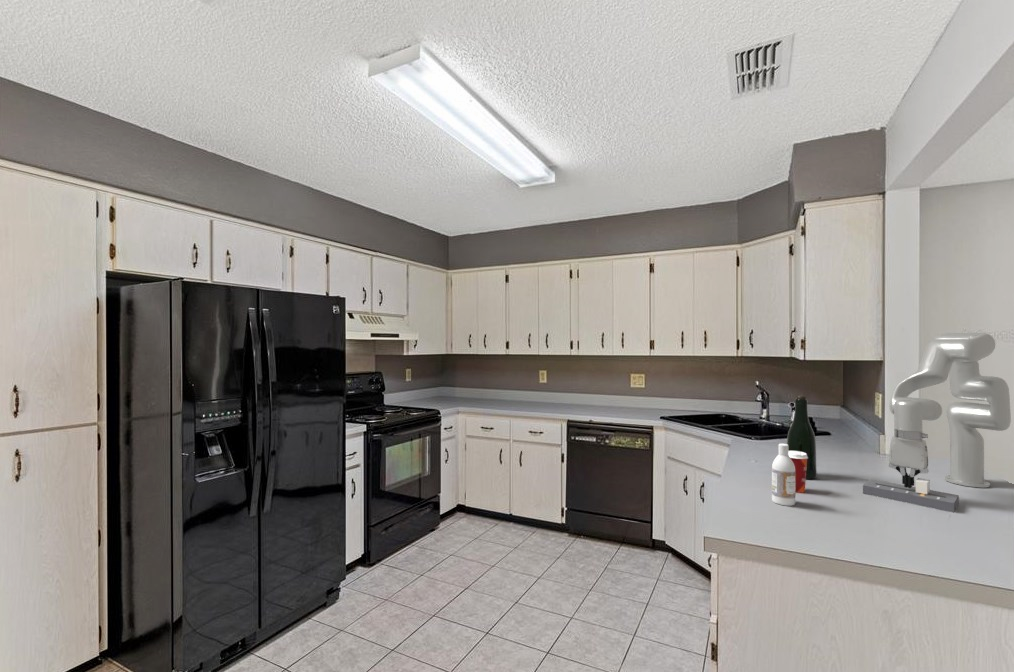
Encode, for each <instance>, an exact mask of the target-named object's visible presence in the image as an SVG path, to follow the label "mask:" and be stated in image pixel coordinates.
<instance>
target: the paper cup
mask: <svg viewBox="0 0 1014 672" xmlns="http://www.w3.org/2000/svg"><path fill="white" fill-rule="evenodd" d="M788 455H789V457H790V458H791V460H792V461H793V463H794V466H795V494H796V493H798V494H801V493H802V494H803V493H805V490H806V480H807V479H806V468H807V458H808V457H807V454H806V453H804V452H799V451H788Z"/></svg>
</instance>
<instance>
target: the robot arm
mask: <svg viewBox="0 0 1014 672" xmlns="http://www.w3.org/2000/svg"><path fill="white" fill-rule="evenodd" d="M995 349H996V339H994V337H993V336H992V335H991V334H989V333H985V332H973V333H972V332H971V333H970V332H969V333H968V332H967V333H965V332H950V333H949V332H948V333H947V332H946V333H939V334H936V335H934V336H933V337H932V340H931V341H929V342H928V343H927V344H926V346H925V349H924V352H923V354H922V358H921V360H920V362H919V365H918V368H917V370H916V371H915V373H913V374H910V375H909V376H907V377H906V378H904V379H903V380H902V381H901V382H899V383H898V384H897V385H896V387H894V390H893V392H892V395H891V398H890V400H889V410H890V412H891V414H893V416H894V418H893V420H894V422H893V423H894V428H893V429H894V430H893V431H894V436H892V437H891V440H890V445H889V453H888V454H889V456H888V457H889V459H888V461H889V463H888V467H889V468H891V469H894V470H896V471H897V472H898V473H900V475H901V478H902V479H901V481H902V482H901V483H902V484H901V485H904V487H906V488H907V487H908V488H911V487H915V477H916V476H917V475H919V474H928V473H930V471H929V468H928V467H929V452H928V447H927V441H926V440H924V439H925V438H926V439H928V438H929V435H928V433H924V431H923V421H930V422H931V421H935V420H938V419H940V418H941V416H942V414H943V408H942V405H941V404H940V403H939V402H938V401H935V400H932V399H927V398H926V399H925V398H918V397H910V395H911V394H913V392H916V391H918V390H921V389H924V388H928V387H932V386H936V385H941V384H942V383H943V384H944V383H945V382H946V381H948V380H947V379H948V377H949V390H950V393H951V395H952V396H953V397H954V398H957V399H961V400H971V401H980V402H987V403H985V404H984V403H978V402H977V403H976V402H967V401H955V402H952V403H950V404H948V406H947V407H946V412H945V413H946V417H947V422H948V428H949V475H945V476H944V480H945V481H946V482H949V483H952V484H955V485H960V486H963V487H964V486H965V487H969V488H970V487H972V488H985V489H986V488H989V487H991V484H990V482H989V481H987V480H985V440H984V437H983V436H982V434H981V433H980V431H978V429H982V430H990V431H998V432H1000V431H1001V432H1003V431H1006V430H1008V429H1009V428H1010V426H1011V422H1012V420H1011V419H1012V418H1011V416H1012V413H1011V402H1010V398H1011V397H1010V388H1009V385H1008V383H1007V381H1006V380H1005V379H1003V378H1002V377H998V376H989V375H982V374H980V365H979V361H980V360H982V359H984V358H987V357H989V356H990V355H991V354H992V353H994V351H995ZM907 469H910V472H909V473H908V470H907Z"/></svg>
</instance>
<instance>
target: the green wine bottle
mask: <svg viewBox="0 0 1014 672" xmlns="http://www.w3.org/2000/svg"><path fill="white" fill-rule="evenodd" d="M794 403H795V405H794V406H795V408H794V416H793V420H792V423H791V425H790V428H789V429H788V432H787V438H786V444H787V445H788V451H799V452H804V453H806V454H807V457H808V458H807V468H806V480H814V479H816V478H817V467H818V465H817V442H816V436H815V432H814V429H813V428H812V425H811V423H810V419H809V413H808V399H807V396H805V395H796V398H795V399H794Z"/></svg>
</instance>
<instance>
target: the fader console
mask: <svg viewBox="0 0 1014 672" xmlns="http://www.w3.org/2000/svg"><path fill="white" fill-rule="evenodd" d="M862 494H864V495H867V496H873V497H877V496H878V498H882V497H883V498H882V499H887V498H888V500H892V499H893V500H892V501H897V502H901V501H902V503H906V502H907V504H910V505H911V504H913V505H917V506H921V505H922V506H921V507H925V506H926V508H931V509H936V510H941V511H945V512H949V513H950V512H951V513H955V512H956V509H957V508H958V506H959V504H960V501H959V500H960V499H959V498H960V497H959V494H954V493H949V492H944V491H938V490H933V489H930V492H929V493H928V494H922V493H917V492H916V486H912V487H911V488H908V487H907V488H906V487H904V484H900V483H895V482H889V481H884V480H880V479H879V480H878V479H874V478H870V479H869V480H868V481H866V482H865V483H864V484H862Z"/></svg>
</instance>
